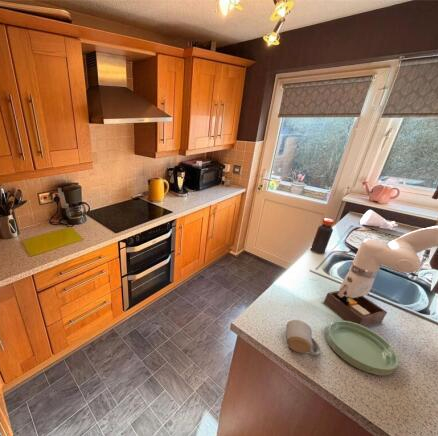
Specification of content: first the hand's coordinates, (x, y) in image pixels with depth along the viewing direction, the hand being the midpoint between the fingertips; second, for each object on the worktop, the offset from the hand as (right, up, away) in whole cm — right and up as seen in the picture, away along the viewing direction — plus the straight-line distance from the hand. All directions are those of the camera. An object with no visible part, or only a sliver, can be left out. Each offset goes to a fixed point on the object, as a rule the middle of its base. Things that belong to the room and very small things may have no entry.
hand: (345, 305), depth 96 cm
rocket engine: (+81, +30, +68) cm, 110 cm away
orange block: (0, 0, 0) cm, 0 cm away
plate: (-10, -9, -16) cm, 21 cm away
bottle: (+18, +17, +41) cm, 48 cm away
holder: (+1, -3, -2) cm, 3 cm away
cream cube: (+1, -3, -4) cm, 5 cm away
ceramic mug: (-29, -9, -15) cm, 33 cm away
